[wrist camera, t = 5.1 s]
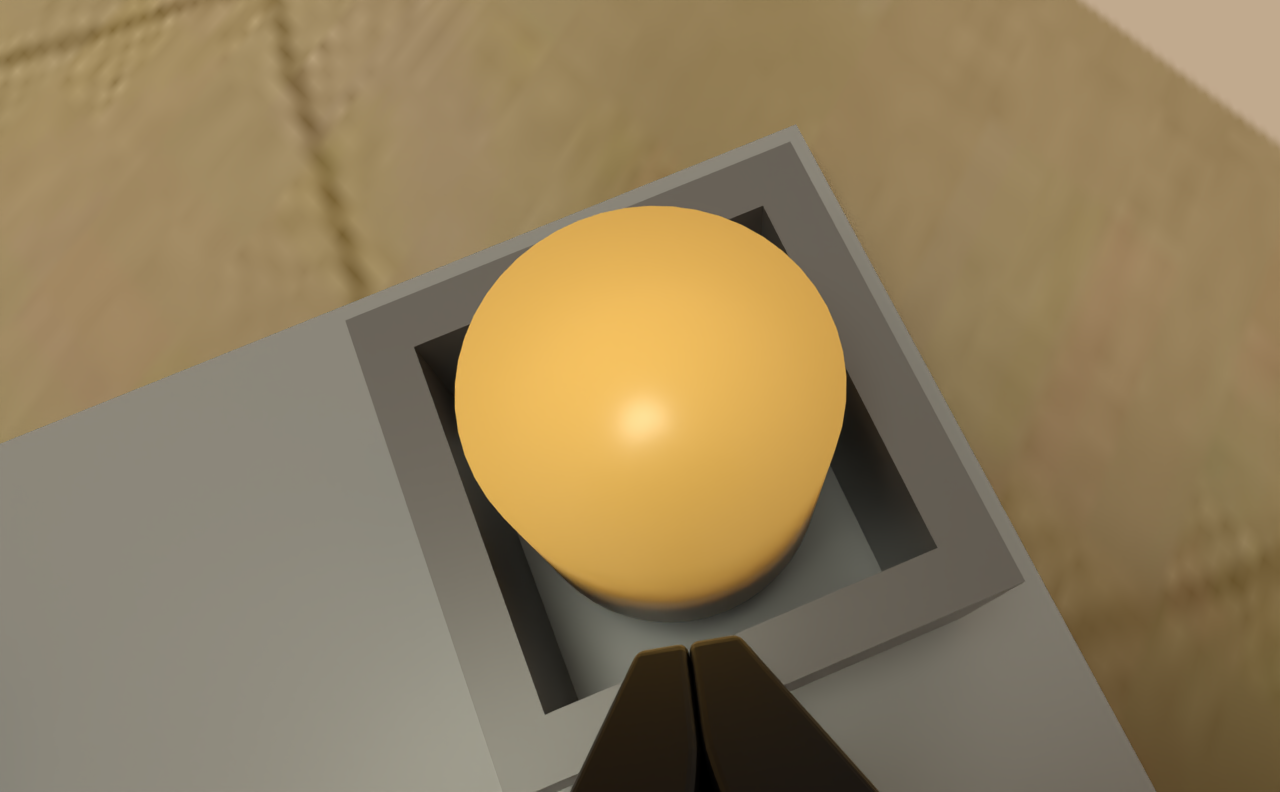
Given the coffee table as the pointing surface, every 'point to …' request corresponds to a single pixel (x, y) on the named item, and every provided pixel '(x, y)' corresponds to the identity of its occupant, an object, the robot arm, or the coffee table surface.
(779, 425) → the amber button
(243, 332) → the coffee table surface
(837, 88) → the coffee table surface
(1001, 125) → the coffee table surface
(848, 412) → the button panel
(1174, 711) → the coffee table surface
